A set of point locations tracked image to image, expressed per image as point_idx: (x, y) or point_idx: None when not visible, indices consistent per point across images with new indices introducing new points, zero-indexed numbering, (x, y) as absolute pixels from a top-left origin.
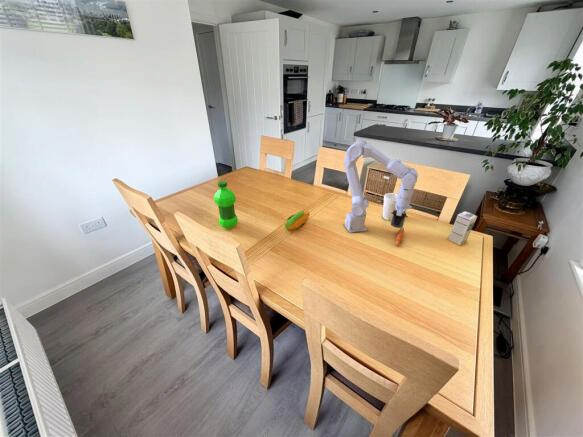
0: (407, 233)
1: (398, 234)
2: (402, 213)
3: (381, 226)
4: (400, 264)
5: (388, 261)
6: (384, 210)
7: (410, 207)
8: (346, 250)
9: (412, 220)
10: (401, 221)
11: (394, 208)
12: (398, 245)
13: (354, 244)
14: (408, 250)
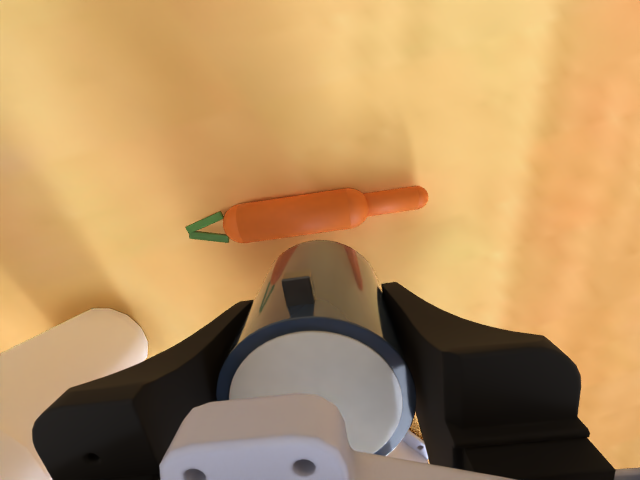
0: (208, 181)
1: (315, 229)
2: (482, 424)
3: None
4: (613, 113)
5: (613, 189)
6: None
7: (292, 461)
8: (608, 403)
9: (5, 201)
10: (375, 294)
11: (52, 396)
12: (423, 188)
13: None
14: (419, 113)
